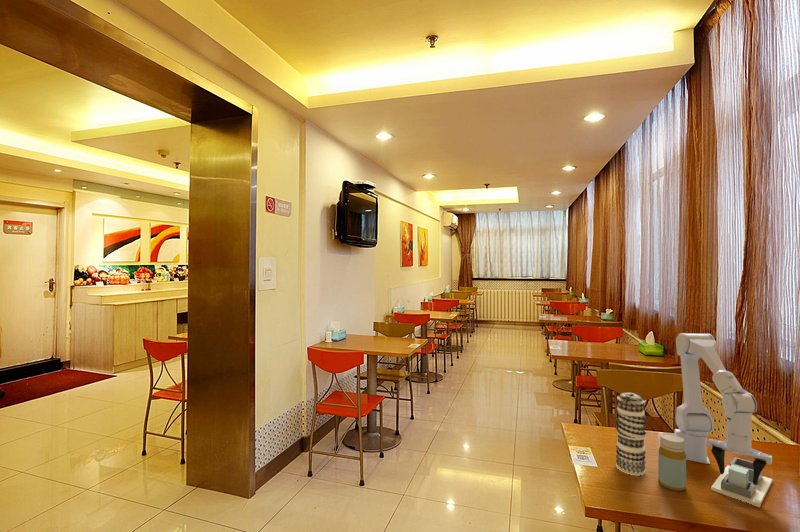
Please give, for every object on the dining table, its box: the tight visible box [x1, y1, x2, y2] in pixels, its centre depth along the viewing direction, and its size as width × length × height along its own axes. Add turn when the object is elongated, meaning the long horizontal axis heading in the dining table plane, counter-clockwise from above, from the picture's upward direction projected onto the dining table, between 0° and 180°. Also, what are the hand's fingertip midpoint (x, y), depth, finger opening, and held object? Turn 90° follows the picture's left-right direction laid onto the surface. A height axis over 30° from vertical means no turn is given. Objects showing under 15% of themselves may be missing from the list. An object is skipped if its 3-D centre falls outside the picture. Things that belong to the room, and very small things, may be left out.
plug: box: [728, 465, 749, 490], centre depth 119 cm, size 5×4×6 cm
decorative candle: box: [614, 392, 648, 477], centre depth 132 cm, size 9×9×25 cm
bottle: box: [657, 432, 687, 492], centre depth 122 cm, size 7×7×15 cm
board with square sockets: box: [710, 456, 773, 508], centre depth 122 cm, size 20×11×5 cm, turn 129°
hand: (738, 478), depth 118 cm, fingers open, 7 cm apart
